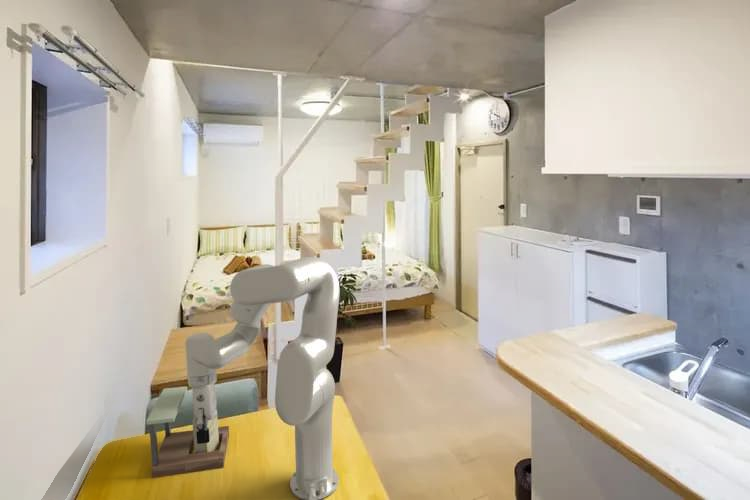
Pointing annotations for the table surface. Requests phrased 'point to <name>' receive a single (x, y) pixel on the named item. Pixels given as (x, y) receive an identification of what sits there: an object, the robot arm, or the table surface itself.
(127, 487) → the table surface
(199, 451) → the skincare box
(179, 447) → the socket board
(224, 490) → the table surface
